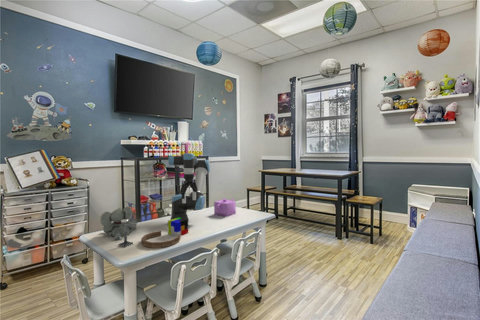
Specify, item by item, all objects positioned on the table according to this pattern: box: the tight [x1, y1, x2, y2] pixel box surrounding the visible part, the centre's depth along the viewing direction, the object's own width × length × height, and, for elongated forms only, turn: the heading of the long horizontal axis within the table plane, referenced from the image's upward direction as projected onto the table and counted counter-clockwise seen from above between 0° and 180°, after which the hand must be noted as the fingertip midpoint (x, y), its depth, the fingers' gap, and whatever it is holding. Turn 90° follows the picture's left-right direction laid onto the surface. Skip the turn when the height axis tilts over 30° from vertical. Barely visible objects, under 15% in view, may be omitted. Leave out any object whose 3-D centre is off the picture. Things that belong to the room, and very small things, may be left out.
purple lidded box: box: [213, 198, 237, 217], centre depth 243 cm, size 15×25×14 cm, turn 145°
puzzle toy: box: [167, 218, 189, 238], centre depth 188 cm, size 10×10×10 cm
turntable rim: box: [141, 230, 181, 249], centre depth 171 cm, size 24×21×3 cm
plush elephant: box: [100, 206, 137, 241], centre depth 187 cm, size 27×22×21 cm
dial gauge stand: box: [118, 219, 138, 248], centre depth 166 cm, size 8×8×16 cm
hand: (189, 201), depth 197 cm, fingers open, 13 cm apart
